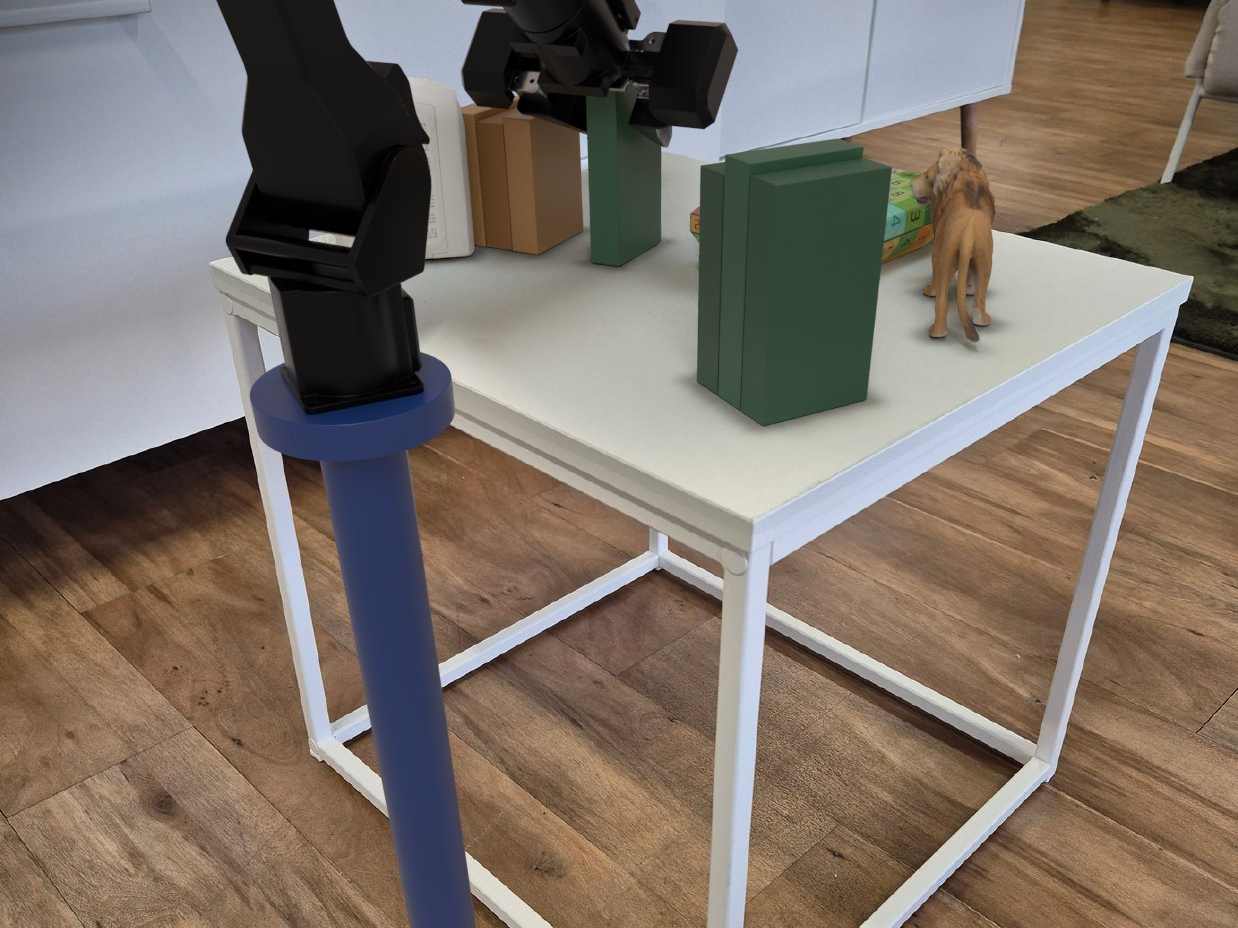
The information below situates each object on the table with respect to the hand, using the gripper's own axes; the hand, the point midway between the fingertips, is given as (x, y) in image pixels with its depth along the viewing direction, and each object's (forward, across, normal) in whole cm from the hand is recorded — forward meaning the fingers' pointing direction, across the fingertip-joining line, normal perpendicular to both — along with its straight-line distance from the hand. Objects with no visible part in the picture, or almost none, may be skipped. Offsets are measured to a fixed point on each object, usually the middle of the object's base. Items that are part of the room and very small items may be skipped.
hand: (637, 138), depth 84 cm
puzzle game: (+9, -14, +2) cm, 17 cm away
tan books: (+4, +9, +7) cm, 12 cm away
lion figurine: (+3, -25, +8) cm, 26 cm away
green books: (-10, -20, +20) cm, 30 cm away
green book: (+4, 0, +7) cm, 8 cm away
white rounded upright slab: (-2, +14, +13) cm, 19 cm away
